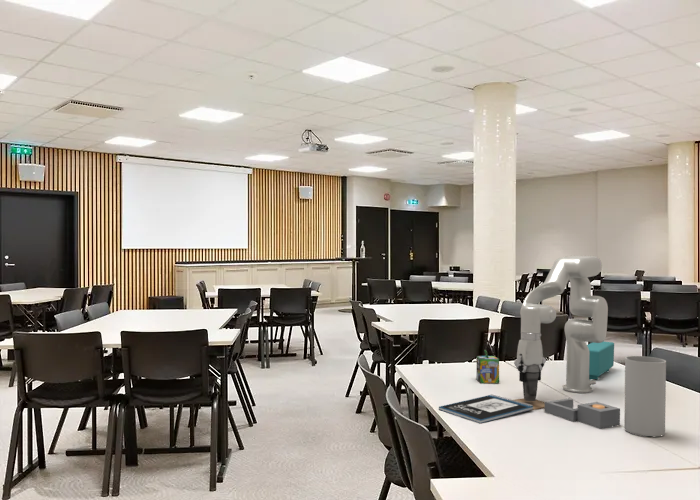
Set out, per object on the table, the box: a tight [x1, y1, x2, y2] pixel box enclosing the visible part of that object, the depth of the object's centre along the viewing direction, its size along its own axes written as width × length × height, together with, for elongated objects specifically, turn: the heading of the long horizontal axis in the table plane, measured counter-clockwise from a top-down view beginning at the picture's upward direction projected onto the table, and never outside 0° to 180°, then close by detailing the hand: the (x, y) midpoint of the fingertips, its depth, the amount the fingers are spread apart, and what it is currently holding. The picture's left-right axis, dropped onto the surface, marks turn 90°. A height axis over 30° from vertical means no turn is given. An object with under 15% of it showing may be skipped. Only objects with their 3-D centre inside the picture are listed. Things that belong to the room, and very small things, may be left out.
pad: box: [511, 397, 546, 412], centre depth 236 cm, size 14×14×1 cm
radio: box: [586, 340, 615, 380], centre depth 295 cm, size 34×10×15 cm, turn 144°
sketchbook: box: [438, 393, 533, 424], centre depth 226 cm, size 22×30×2 cm
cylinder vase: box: [623, 355, 667, 437], centre depth 201 cm, size 12×12×25 cm
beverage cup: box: [522, 364, 540, 401], centre depth 236 cm, size 7×7×20 cm
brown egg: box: [593, 404, 605, 409], centre depth 211 cm, size 4×4×4 cm
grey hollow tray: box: [544, 398, 621, 430], centre depth 217 cm, size 13×24×6 cm, turn 27°
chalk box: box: [475, 349, 500, 384], centre depth 277 cm, size 9×9×15 cm
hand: (530, 380), depth 236 cm, fingers closed on beverage cup, 7 cm apart
